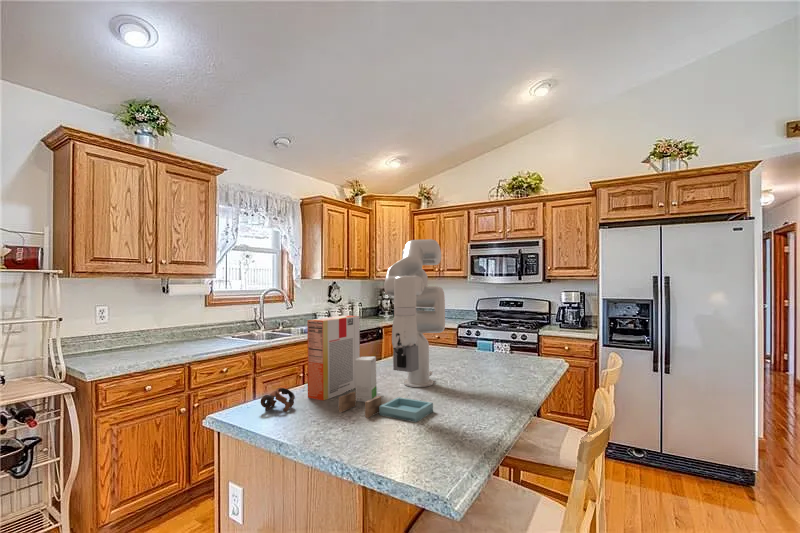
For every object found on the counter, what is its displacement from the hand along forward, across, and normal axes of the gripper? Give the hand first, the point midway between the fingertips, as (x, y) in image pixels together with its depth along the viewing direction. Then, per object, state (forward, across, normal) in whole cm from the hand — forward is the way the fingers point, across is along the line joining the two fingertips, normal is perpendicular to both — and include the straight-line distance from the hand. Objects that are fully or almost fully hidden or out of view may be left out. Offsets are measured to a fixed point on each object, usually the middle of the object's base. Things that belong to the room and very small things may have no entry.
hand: (405, 365), depth 137 cm
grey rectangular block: (+2, 0, 0) cm, 2 cm away
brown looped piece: (+17, +19, -42) cm, 49 cm away
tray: (+16, 0, 0) cm, 16 cm away
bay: (+16, +6, -15) cm, 23 cm away
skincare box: (+16, -7, -22) cm, 28 cm away
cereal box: (+16, -9, -39) cm, 43 cm away
